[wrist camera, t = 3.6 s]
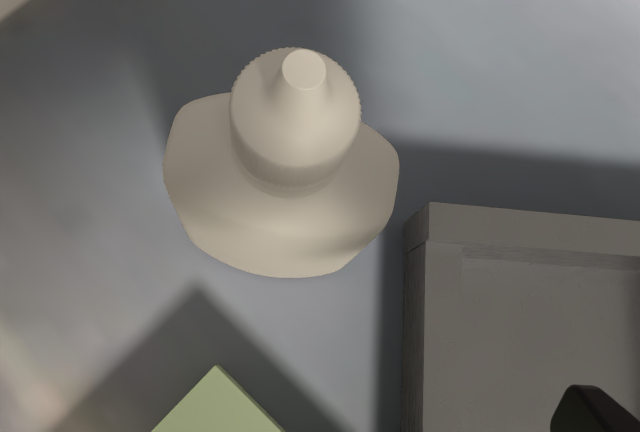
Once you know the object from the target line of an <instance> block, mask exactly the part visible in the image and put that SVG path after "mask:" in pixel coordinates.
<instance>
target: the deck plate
mask: <svg viewBox="0 0 640 432" xmlns="http://www.w3.org/2000/svg"><path fill="white" fill-rule="evenodd" d="M151 432H286V431H285V430H284V429H283V428H282V427H281V426H280V425H279V424H278V423H277V422H276V421H275V420H274V419H273V418H272V417H271V416H270V415H269V414H268V413H267V412H266V411H265V410H264V409H263V408H262V407H261V406H260V405H259V404H258V403H257V402H256V401H255V400H254V399H253V398H252V397H251V396H250V395H249V394H248V393H247V392H246V391H245V390H244V389H243V388H242V387H241V386H240V385H239V384H238V383H237V382H236V381H235V380H234V379H233V378H232V377H231V376H230V375H229V374H228V373H227V372H226V371H225V370H224V369H223V368H222V367H221V366H220V365H219V364H218V365H215V366H214V367H213V368H212V369H211V370H210V371H209V372H208V373H207V374H206V375H205V376H204V377H203V378H202V379H201V380H200V381H199V383H198V384H197V385H196V386H195V387H194V388H193V389H192V390H191V391H190V392H189V393H188V394H187V395H186V396H185V397H184V398H183V399H182V400H181V401H180V402H179V403H178V404H177V405H176V406H175V407H174V408H173V409H172V410H171V411H170V412H169V414H168V415H167V416H166V417H165V418H164V419H163V420H162V421H161V422H160V423H159V424H158V425H157V426H156V427H155V428H154V429H153V430H152V431H151Z"/></svg>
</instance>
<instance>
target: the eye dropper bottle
mask: <svg viewBox="0 0 640 432" xmlns="http://www.w3.org/2000/svg"><path fill="white" fill-rule="evenodd" d="M240 73H241V74H240V75H238V76H237V80H236V81H235V82H234V86H233V87H232V88H231V92H229V93H222V94H216V95H211V96H206V97H203V98H200V99H196V100H193V101H191V102H189V103H187V104H186V105H184V106H182V108H181V109H180V110H179V112H178V113H177V115H176V116H175V118H174V121H173V124H172V127H171V131H170V134H169V138H168V142H167V146H166V150H165V154H164V159H163V179H164V183H165V186H166V189H167V192H168V194H169V196H170V199H171V201H172V203H173V205H174V207H175V210H176V212H177V214H178V216H179V218H180V220H181V223H182V225H183V227H184V229H185V231H186V233H187V235H188V237H189V238H190V240H191V241H192V242H193V244H195V245H196V246H197V247H198V248H200V249H201V250H203V251H204V252H206V253H207V254H209V255H210V256H212V257H214V258H216V259H218V260H220V261H222V262H224V263H226V264H228V265H230V266H233V267H235V268H238V269H241V270H243V271H247V272H250V273H254V274H258V275H263V276H269V277H278V278H304V277H313V276H320V275H325V274H329V273H332V272H336V271H337V270H339V269H340V268H342V267H343V266H345V265H346V264H347V263H348V262H349V261H350V260H351V259H352V258H353V257H355V256H356V255H357V254H358V253H359V252H360V251H361V250H362V249H363V248H364V247H365V246H367V245H368V244H369V243H370V242H371V241H372V240H373V239H374V238H375V237H376V236H377V235H378V234H379V233H380V232H381V231H382V230H383V229H384V228H385V226H386V224H387V222H388V220H389V218H390V216H391V214H392V212H393V208H394V203H395V198H396V192H397V185H398V178H399V166H400V165H399V159H398V154H397V152H396V151H395V149H394V148H393V146H392V145H391V144H390V143H389V142H388V141H387V140H386V139H385V138H384V137H382V136H381V135H380V134H379V133H377V132H376V131H375V130H373V129H372V128H371V127H369V126H368V125H366V124H365V123H363V122H362V121H361V118H360V117H361V115H362V113H361V111H360V110H361V108H362V107H361V105H360V102H361V100H360V99H359V98H358V97H359V94H358V92H357V91H356V90H357V88H356V87H355V86H354V82H353V81H352V80H350V78H351V77H350V76H349V75H347V72H346V71H345V70H343V69H342V66H339V65H338V63H337V62H335V61H333V60H332V58H328V57H327V56H326V55H323V54H321V53H320V52H315V51H314V50H309V49H307V48H305V49H303V48H301V47H299V48H295V47H291V48H288V47H285V48H279V49H278V50H275V49H273V50H272V51H269V52H266V54H261V55H260V57H256V58H255V60H254V61H250V64H249V65H246V66H245V69H244V70H242V71H240Z"/></svg>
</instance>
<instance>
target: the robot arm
mask: <svg viewBox="0 0 640 432" xmlns="http://www.w3.org/2000/svg"><path fill="white" fill-rule="evenodd" d="M550 432H640V420H638V419H637V418H636V417H635V416H633V415H632V414H631V413H630V412H629V411H627V410H626V409H625V408H624V407H623V406H621V405H620V404H619V403H618V402H617V401H615V400H614V399H613V398H612V397H611V396H609V395H608V394H607V393H606V392H604V391H603V390H602V389H600V388H599V387H597V386H593V385H577V384H574V385H570V386H569V387H568V388H567V389H566V390H565V392H564V394H563V396H562V398H561V400H560V402H559V404H558V406H557V408H556V410H555V412H554V414H553V416H552V418H551V422H550Z"/></svg>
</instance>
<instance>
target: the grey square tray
mask: <svg viewBox="0 0 640 432" xmlns="http://www.w3.org/2000/svg"><path fill="white" fill-rule="evenodd" d="M404 255H405V274H404V316H403V357H402V398H401V432H550V422H551V418H552V416H553V414H554V412H555V410H556V408H557V406H558V404H559V402H560V400H561V398H562V396H563V394H564V392H565V390H566V389H567V388H568V387H569V386H570V385H574V384H577V385H593V386H597V387H599V388H600V389H602V390H603V391H604V392H606V393H607V394H608V395H609V396H611V397H612V398H613V399H614V400H615V401H617V402H618V403H619V404H620V405H621V406H623V407H624V408H625V409H626V410H627V411H629V412H630V413H631V414H632V415H633V416H635V417H636V418H637V419H638V420H640V221H634V220H623V219H612V218H602V217H591V216H580V215H569V214H558V213H548V212H537V211H526V210H515V209H504V208H494V207H483V206H472V205H461V204H450V203H439V202H428V203H427V204H426V205H425V206H424V207H422V208H421V209H420V210H419V211H418V212H416V213H415V214H414V215H413V216H412V217H410V218H409V219H408V220H407V221H406V222H404Z"/></svg>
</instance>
